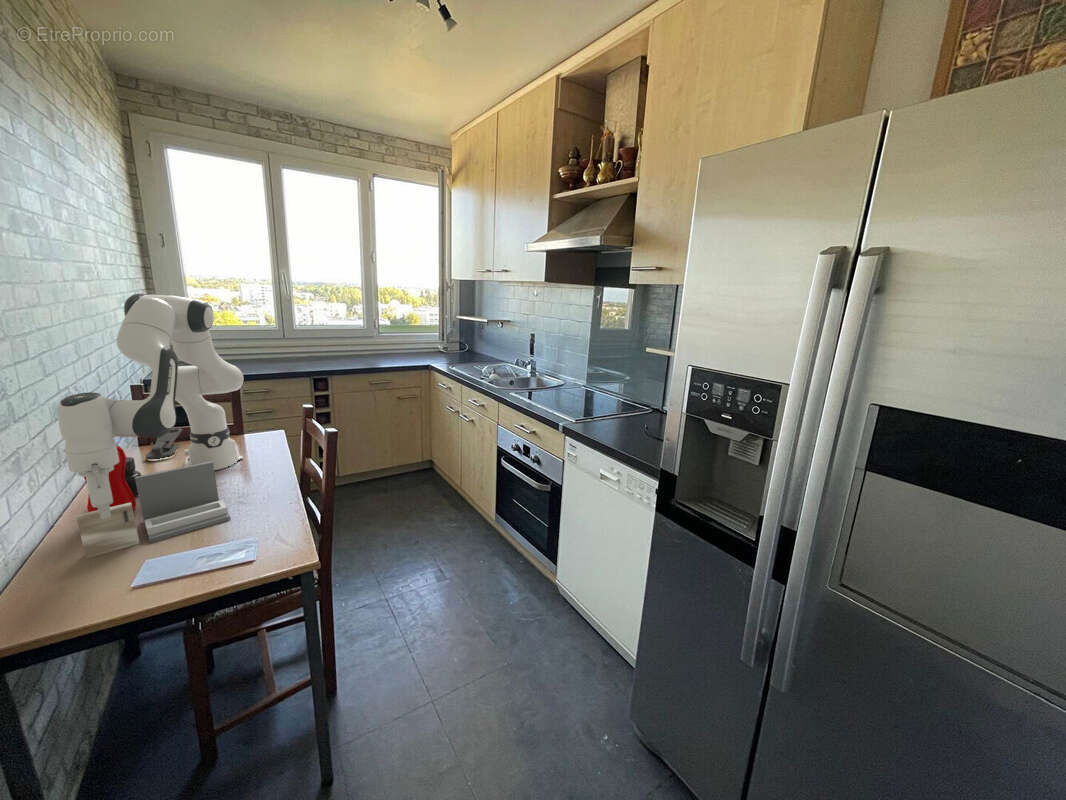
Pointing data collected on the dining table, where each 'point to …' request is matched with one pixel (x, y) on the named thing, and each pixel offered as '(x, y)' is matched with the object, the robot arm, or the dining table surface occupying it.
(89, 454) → the robot arm
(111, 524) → the door panel
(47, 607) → the dining table surface
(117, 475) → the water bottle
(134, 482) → the ink bottle
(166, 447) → the dark grey phone stand
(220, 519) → the grey tablet stand
